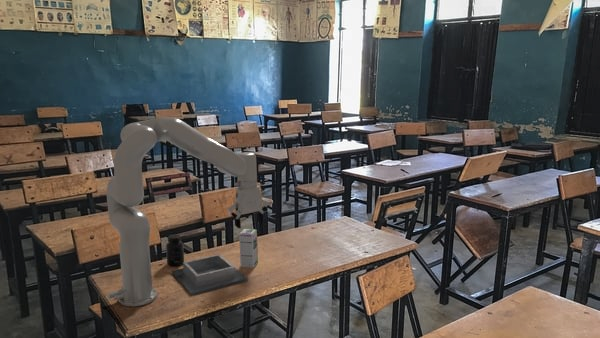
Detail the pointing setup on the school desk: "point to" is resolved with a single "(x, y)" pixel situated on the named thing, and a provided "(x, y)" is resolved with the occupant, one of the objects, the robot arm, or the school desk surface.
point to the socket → (208, 274)
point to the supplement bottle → (174, 251)
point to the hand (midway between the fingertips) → (249, 225)
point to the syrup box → (248, 248)
